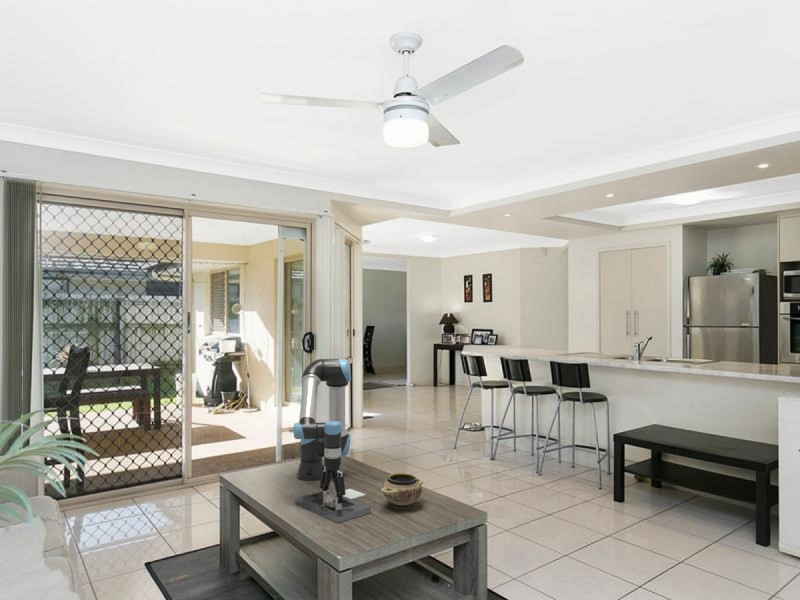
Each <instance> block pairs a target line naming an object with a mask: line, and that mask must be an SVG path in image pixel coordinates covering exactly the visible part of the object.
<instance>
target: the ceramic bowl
mask: <svg viewBox="0 0 800 600" xmlns="http://www.w3.org/2000/svg"><path fill="white" fill-rule="evenodd" d="M423 483H424V480H423V479H422V478H419V477H417V476H415V475H413V474H411V473H406V472H405V473H404V472H396V473H392V474H389V475H388V476H387V480H386V481H384V482H383V484H382V487H381V489H380V492H381V493H382V494H383V495H384V497H385V498H386V499H387V500H388V501H389V502H390V503H391V507H393V508H394V509H399V510H406V509H405V508H407V509H409V507H410V508H411V506H413V503H415V502H416V501H417V500H418V499H420V497H421V496H422V492H423V488H422V485H423Z"/></svg>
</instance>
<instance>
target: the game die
mask: <svg viewBox="0 0 800 600" xmlns="http://www.w3.org/2000/svg"><path fill="white" fill-rule="evenodd" d="M329 491H330V492H329V493H328V492H327V495H326V496H325V497H324V496H323V498H324V500H325V503H324V504H326V505H327V506H325V508H329V509H330V508H331V510H332V511H335V509H336V496H337V493H336V490H333V488H331V489H330V490H329ZM342 503H343V502H342Z"/></svg>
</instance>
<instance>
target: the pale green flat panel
mask: <svg viewBox="0 0 800 600" xmlns="http://www.w3.org/2000/svg"><path fill="white" fill-rule="evenodd" d="M345 493H346V494H345V495H343V496H344V497H347V498H349V499H352V500H355V499H358V498H362V497H365V496H366V493H363V492H360V491H357V490H354V489H352V488H348V489H345Z"/></svg>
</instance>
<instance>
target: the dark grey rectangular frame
mask: <svg viewBox="0 0 800 600" xmlns="http://www.w3.org/2000/svg"><path fill="white" fill-rule="evenodd" d="M330 491H331V490H329V492H330ZM342 502H343V503H342V506H344V507H343V508H342V509H339V510H336V509H335V510H334V511H333V509H330V508H329V507H327V508H326V506H323V505H320V504H323V490H322V491H319V492H318V491H317V492H315V493H311V494H307V495H305V496H299V497H296V498H295V501H294V505H296V504H297V506H298V505H299V507H301V508H303V509H306V510H307V511H310V512H312V513H314V514H317V515H318V516H321V517H323V518H324V519H328V520H329V521H332V522H334V523H336V524H340V523H344V522H347V521H349V520H353V519H355V518H358V517H362V516H365V515H368V514H372V506H370V505H367V504H366V503H365V504H364V503H362V502H360V501H358V500H355V499H353V500H352V499H349V498H347V497H344V496H342Z"/></svg>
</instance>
